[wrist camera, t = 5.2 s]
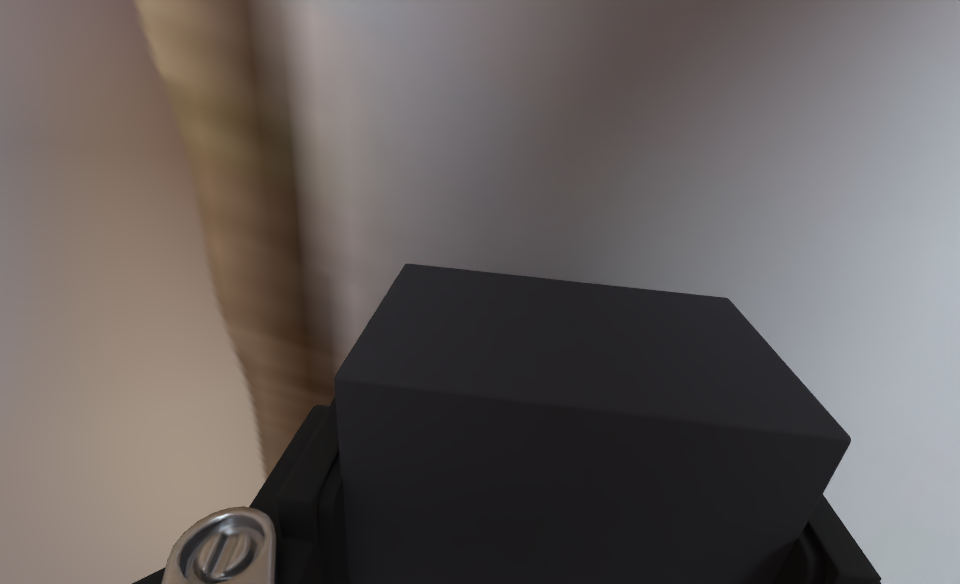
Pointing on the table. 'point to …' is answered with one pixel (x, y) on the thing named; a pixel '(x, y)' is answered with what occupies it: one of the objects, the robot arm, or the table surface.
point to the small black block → (571, 437)
